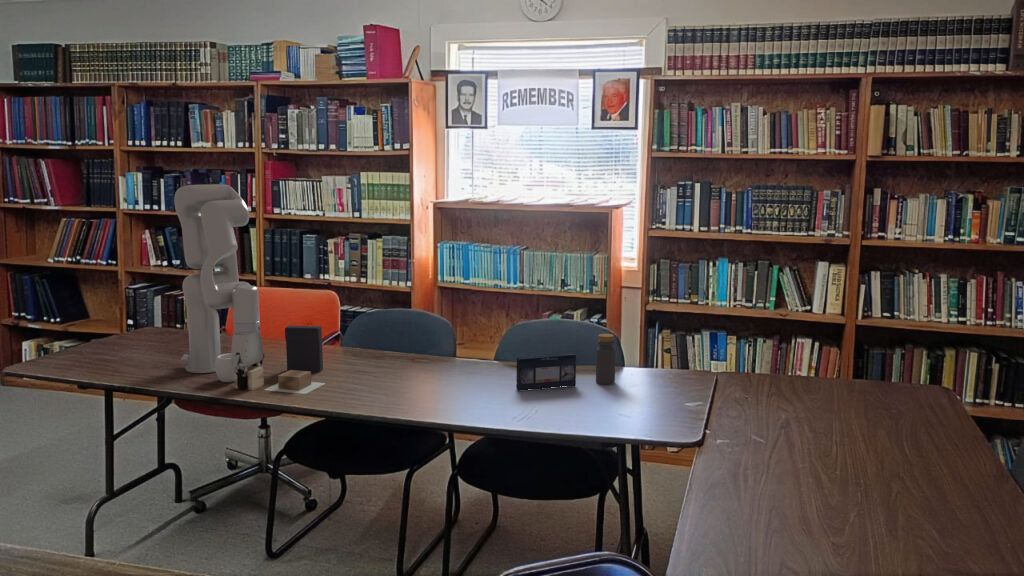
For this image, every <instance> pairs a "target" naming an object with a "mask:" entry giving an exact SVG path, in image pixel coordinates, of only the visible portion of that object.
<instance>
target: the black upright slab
mask: <svg viewBox="0 0 1024 576" xmlns="http://www.w3.org/2000/svg"><path fill="white" fill-rule="evenodd" d="M284 338H285V339H284V340H285V347H286V348H285V350H286V369H287V370H286V372H287V371H289V370H298V371H310V372H311V373H314V372H315V373H321V372H322V371H324V360H323V359H324V358H323V355H324V354H323V329H322V326H321V325H320V326H319V325H288V326H286V327H285V328H284Z"/></svg>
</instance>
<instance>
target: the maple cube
mask: <svg viewBox="0 0 1024 576" xmlns="http://www.w3.org/2000/svg"><path fill="white" fill-rule="evenodd" d="M241 370H242V371H243V368H241ZM246 376H248V389H246V390H248V391H249V390H250V391H253V390H256V389H258V388H260V387H263V386H264V385H265V380H264V377H265V375H264V367H263V366H261V367H256V366H251V365H250V366H248V367H247V373H246ZM234 378H235V382H234V389H238V382H237V376H236V373H235V372H234Z"/></svg>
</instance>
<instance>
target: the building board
mask: <svg viewBox="0 0 1024 576" xmlns="http://www.w3.org/2000/svg"><path fill="white" fill-rule="evenodd" d="M325 384H326V382H318V381H317V382H316V381H311V385H309V386H307V387H305V388H303V389H301V390H300V391H299V390H288V389H279V388H278V382H277V383H276V384H273V385H271V386H269V387H267V388H265V389H263V391H271V392H281V393H282V392H283V393H290V394H302V395H303V394H304V395H306V394H309V393H310V392H312V391H314V390H316V389H318V388H320V387H322V386H324V385H325Z"/></svg>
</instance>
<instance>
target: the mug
mask: <svg viewBox="0 0 1024 576" xmlns="http://www.w3.org/2000/svg"><path fill="white" fill-rule="evenodd" d="M241 365H242V366H243V364H241ZM231 367H232V361H231V352H230V353H223V354H222V353H221V355H219V356H217V357H216V359H215V370H216V372H215V373H216V376H217V379H218V380H219V381H220V382H221V383H235V378H234V370H233V369H232V368H231Z"/></svg>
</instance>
